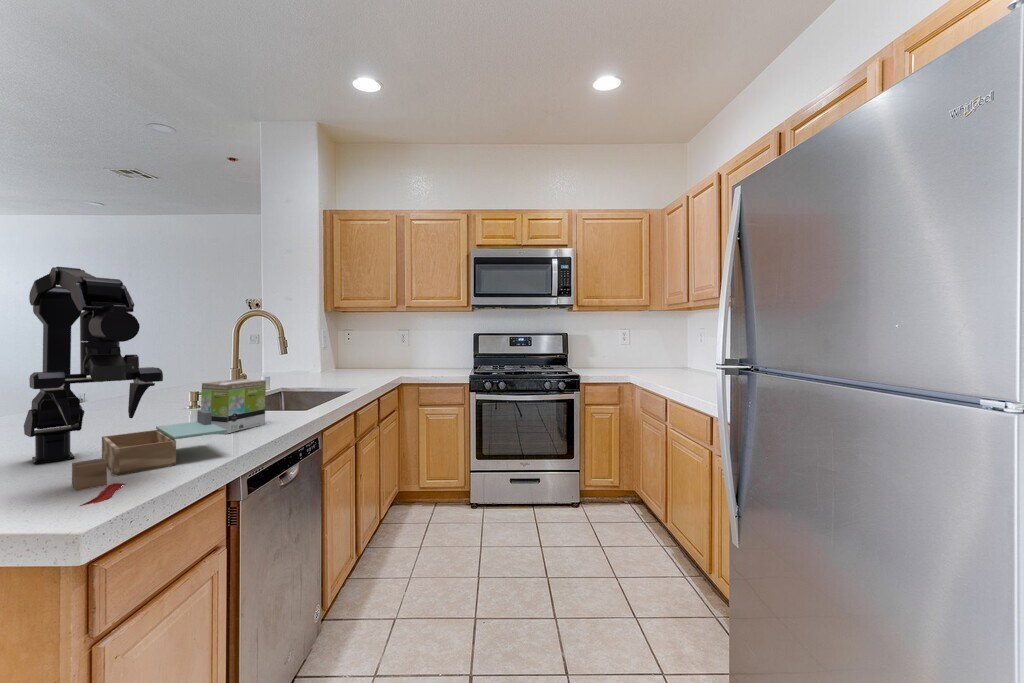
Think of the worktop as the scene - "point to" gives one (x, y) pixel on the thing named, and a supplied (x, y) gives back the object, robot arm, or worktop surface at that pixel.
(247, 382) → the tea box
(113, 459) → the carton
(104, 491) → the cayenne pepper
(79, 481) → the walnut block
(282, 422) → the worktop surface
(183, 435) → the lid
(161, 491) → the worktop surface
